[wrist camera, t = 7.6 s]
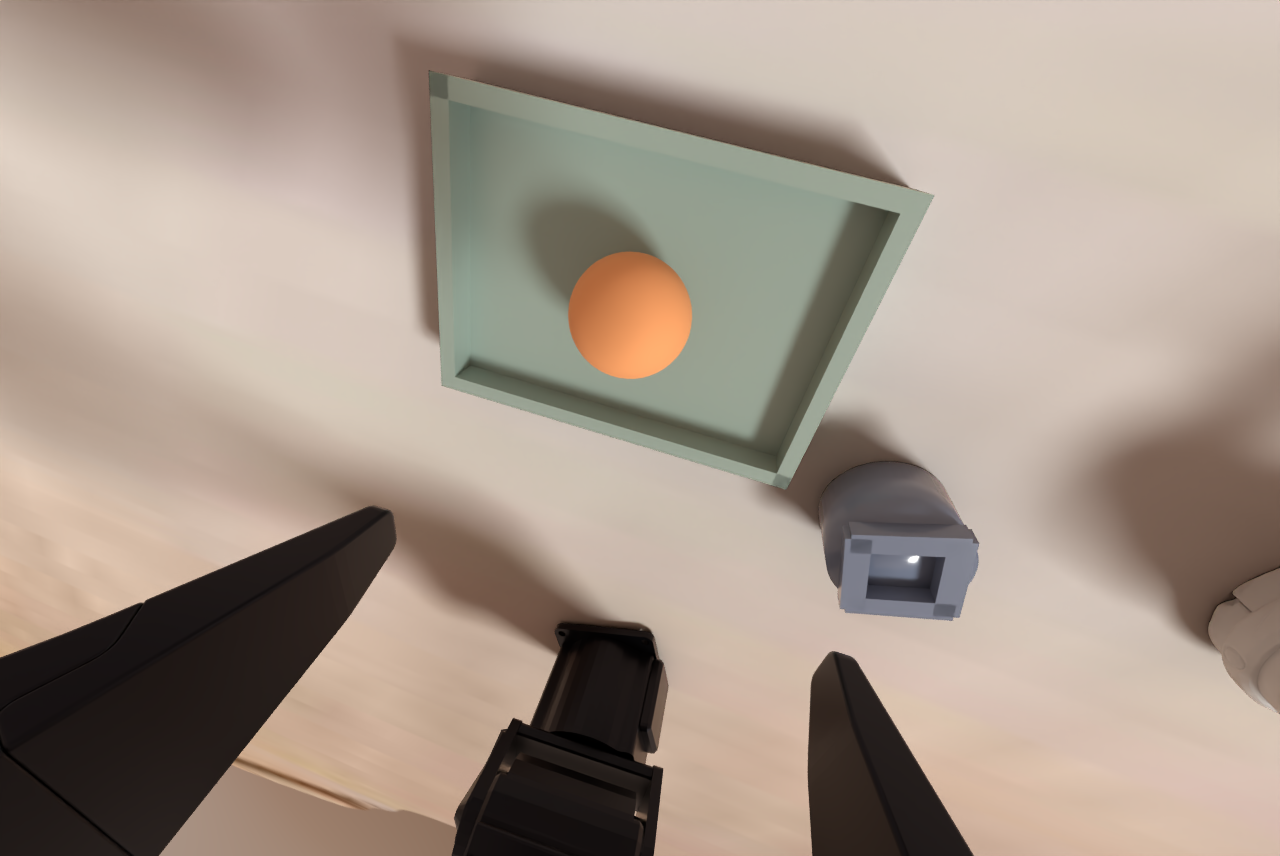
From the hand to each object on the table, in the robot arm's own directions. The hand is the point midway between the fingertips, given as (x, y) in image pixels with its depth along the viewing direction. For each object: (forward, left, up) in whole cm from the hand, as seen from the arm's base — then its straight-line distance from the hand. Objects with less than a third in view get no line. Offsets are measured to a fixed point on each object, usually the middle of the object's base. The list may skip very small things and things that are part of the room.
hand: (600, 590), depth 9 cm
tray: (-1, +3, -12) cm, 12 cm away
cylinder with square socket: (+8, -8, -12) cm, 16 cm away
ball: (-1, +3, -9) cm, 9 cm away
